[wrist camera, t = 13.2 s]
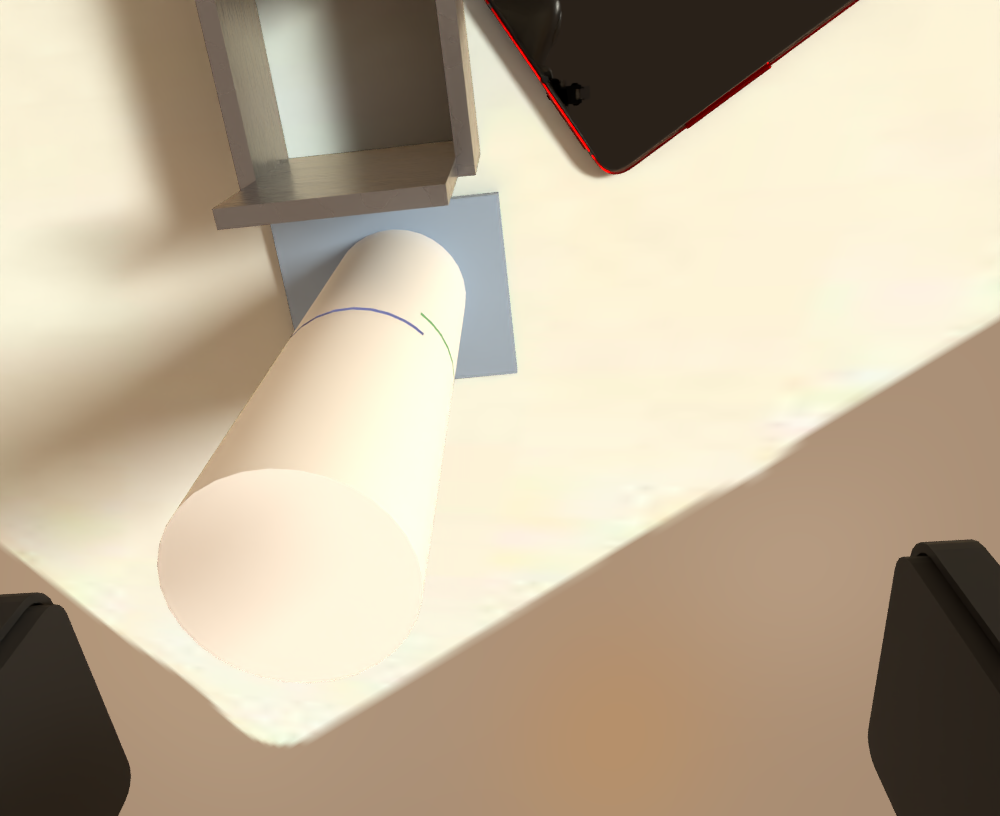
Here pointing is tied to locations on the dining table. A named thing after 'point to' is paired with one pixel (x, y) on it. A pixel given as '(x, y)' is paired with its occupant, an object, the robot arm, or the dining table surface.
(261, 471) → the cylindrical container
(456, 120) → the rack
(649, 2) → the smartphone
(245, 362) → the dining table surface
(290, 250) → the mat
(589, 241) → the dining table surface
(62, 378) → the dining table surface
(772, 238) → the dining table surface
